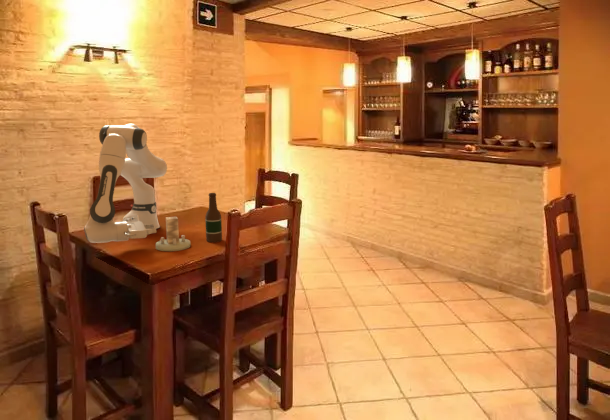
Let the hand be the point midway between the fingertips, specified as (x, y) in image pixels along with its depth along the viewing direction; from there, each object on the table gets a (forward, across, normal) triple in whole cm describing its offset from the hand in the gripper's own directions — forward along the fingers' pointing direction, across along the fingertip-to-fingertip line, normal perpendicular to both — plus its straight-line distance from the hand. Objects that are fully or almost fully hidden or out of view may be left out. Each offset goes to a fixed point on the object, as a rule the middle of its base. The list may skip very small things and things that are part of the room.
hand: (154, 228), depth 229 cm
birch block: (+8, 0, +8) cm, 11 cm away
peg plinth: (+8, 0, +10) cm, 13 cm away
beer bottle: (+28, +4, +10) cm, 30 cm away
